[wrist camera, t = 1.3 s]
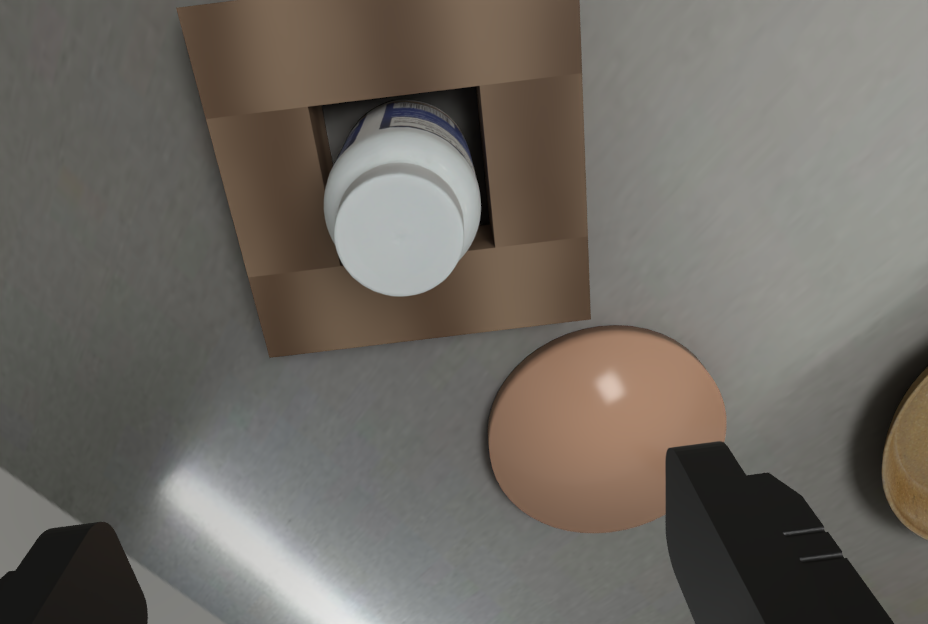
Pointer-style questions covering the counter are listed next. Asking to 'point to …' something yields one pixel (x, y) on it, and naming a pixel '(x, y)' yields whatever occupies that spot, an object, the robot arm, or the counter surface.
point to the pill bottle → (402, 198)
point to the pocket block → (384, 75)
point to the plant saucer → (909, 459)
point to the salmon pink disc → (600, 426)
